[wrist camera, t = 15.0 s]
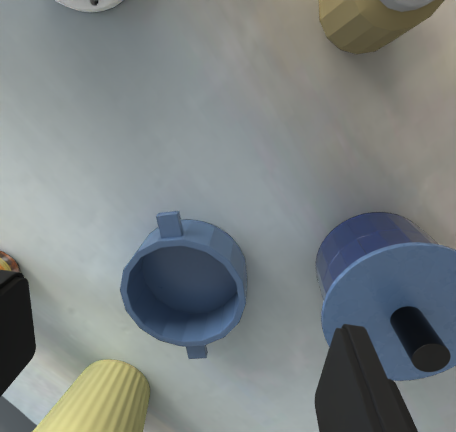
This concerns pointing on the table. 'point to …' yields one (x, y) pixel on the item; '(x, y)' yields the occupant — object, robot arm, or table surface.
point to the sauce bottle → (8, 263)
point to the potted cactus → (101, 401)
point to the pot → (362, 242)
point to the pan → (186, 283)
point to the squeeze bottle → (371, 21)
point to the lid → (400, 307)
